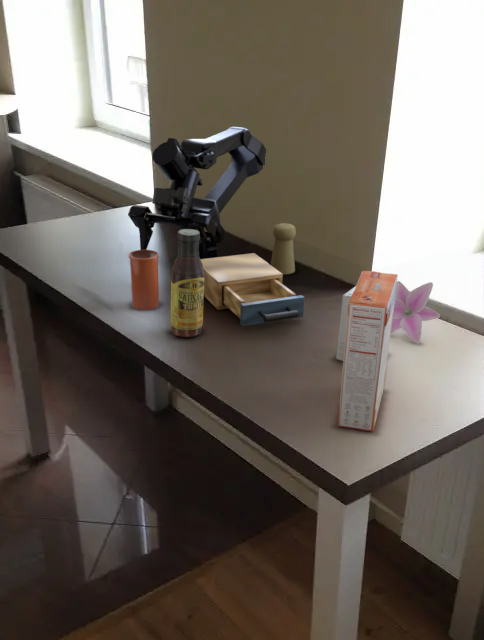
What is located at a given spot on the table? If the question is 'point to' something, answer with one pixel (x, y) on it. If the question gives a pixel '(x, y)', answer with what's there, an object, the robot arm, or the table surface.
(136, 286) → the cup
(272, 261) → the cork
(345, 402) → the cracker box
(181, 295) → the sauce bottle
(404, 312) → the lily
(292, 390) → the table surface
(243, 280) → the cabinet
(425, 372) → the table surface
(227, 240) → the table surface
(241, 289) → the drawer
